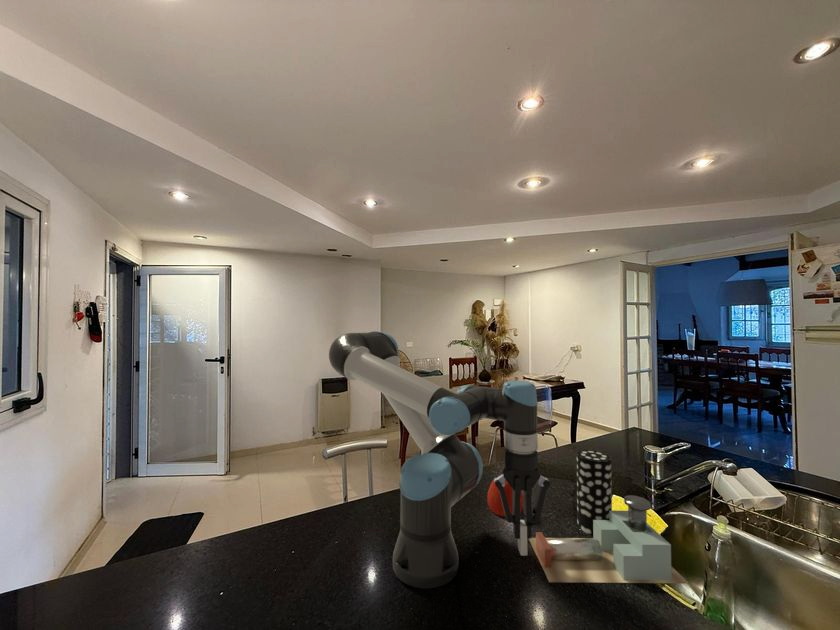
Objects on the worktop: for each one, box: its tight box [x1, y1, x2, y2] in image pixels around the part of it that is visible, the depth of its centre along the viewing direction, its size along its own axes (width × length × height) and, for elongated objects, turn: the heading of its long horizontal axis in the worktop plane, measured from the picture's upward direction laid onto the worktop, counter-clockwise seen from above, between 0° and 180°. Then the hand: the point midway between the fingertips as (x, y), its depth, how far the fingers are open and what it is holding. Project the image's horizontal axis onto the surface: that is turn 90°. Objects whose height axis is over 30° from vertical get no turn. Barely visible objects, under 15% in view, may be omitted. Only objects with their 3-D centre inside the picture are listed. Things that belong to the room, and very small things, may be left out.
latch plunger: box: [623, 494, 652, 531], centre depth 81 cm, size 5×5×6 cm
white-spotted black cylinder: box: [576, 449, 613, 536], centre depth 93 cm, size 8×8×20 cm
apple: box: [486, 474, 524, 518], centre depth 103 cm, size 10×10×10 cm
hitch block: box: [592, 509, 672, 580], centre depth 81 cm, size 10×13×7 cm
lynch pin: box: [535, 531, 603, 568], centre depth 81 cm, size 13×6×4 cm, turn 89°
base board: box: [528, 537, 689, 584], centre depth 81 cm, size 29×15×1 cm, turn 89°
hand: (522, 551), depth 81 cm, fingers closed
